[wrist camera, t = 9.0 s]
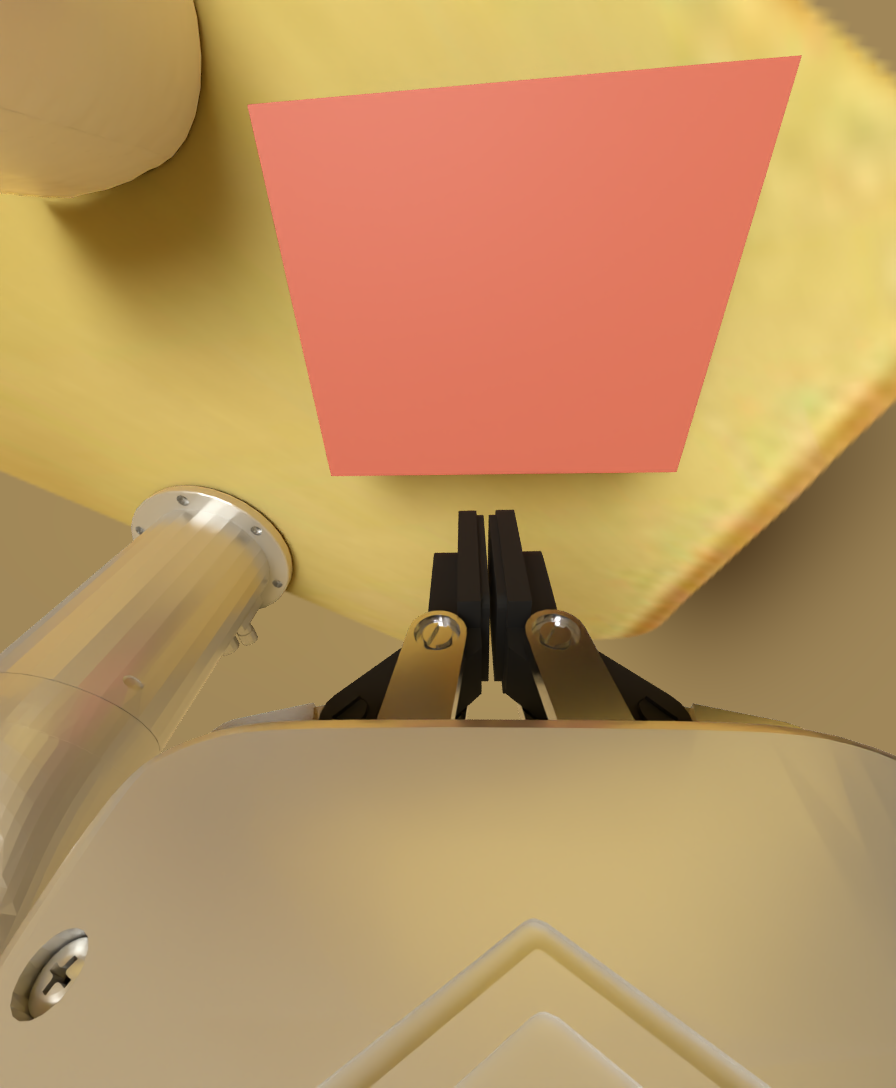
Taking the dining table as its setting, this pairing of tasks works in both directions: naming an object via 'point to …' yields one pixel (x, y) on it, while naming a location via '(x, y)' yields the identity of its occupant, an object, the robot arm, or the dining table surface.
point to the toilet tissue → (93, 91)
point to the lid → (518, 261)
